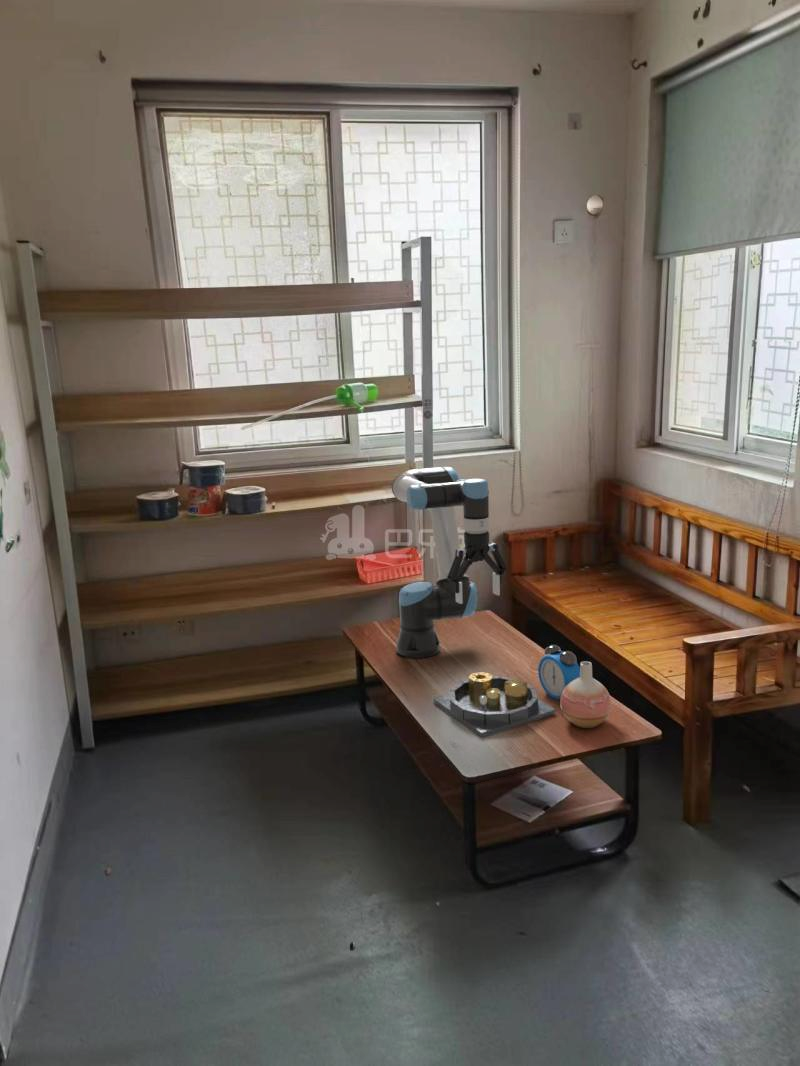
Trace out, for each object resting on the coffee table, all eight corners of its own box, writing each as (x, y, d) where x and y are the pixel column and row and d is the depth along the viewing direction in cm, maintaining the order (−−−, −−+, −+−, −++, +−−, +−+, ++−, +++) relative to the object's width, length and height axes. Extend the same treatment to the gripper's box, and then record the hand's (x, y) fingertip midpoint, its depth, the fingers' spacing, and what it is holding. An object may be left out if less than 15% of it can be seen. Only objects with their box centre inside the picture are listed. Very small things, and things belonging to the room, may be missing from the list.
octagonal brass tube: (465, 694, 237) (465, 675, 236) (484, 689, 240) (483, 670, 238) (477, 702, 231) (477, 683, 230) (496, 697, 234) (496, 678, 233)
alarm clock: (537, 690, 241) (537, 644, 237) (553, 685, 244) (553, 639, 240) (566, 706, 230) (567, 658, 226) (583, 701, 232) (583, 653, 229)
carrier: (434, 703, 236) (433, 679, 234) (503, 683, 247) (503, 660, 245) (481, 737, 214) (481, 712, 212) (555, 714, 225) (555, 689, 224)
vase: (579, 739, 211) (580, 677, 207) (550, 718, 223) (550, 659, 219) (621, 727, 216) (623, 667, 212) (590, 707, 228) (591, 650, 224)
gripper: (447, 539, 230) (449, 609, 235) (517, 527, 241) (518, 593, 247) (434, 534, 237) (436, 602, 242) (503, 522, 248) (504, 587, 253)
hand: (477, 598), depth 244 cm, fingers open, 13 cm apart
